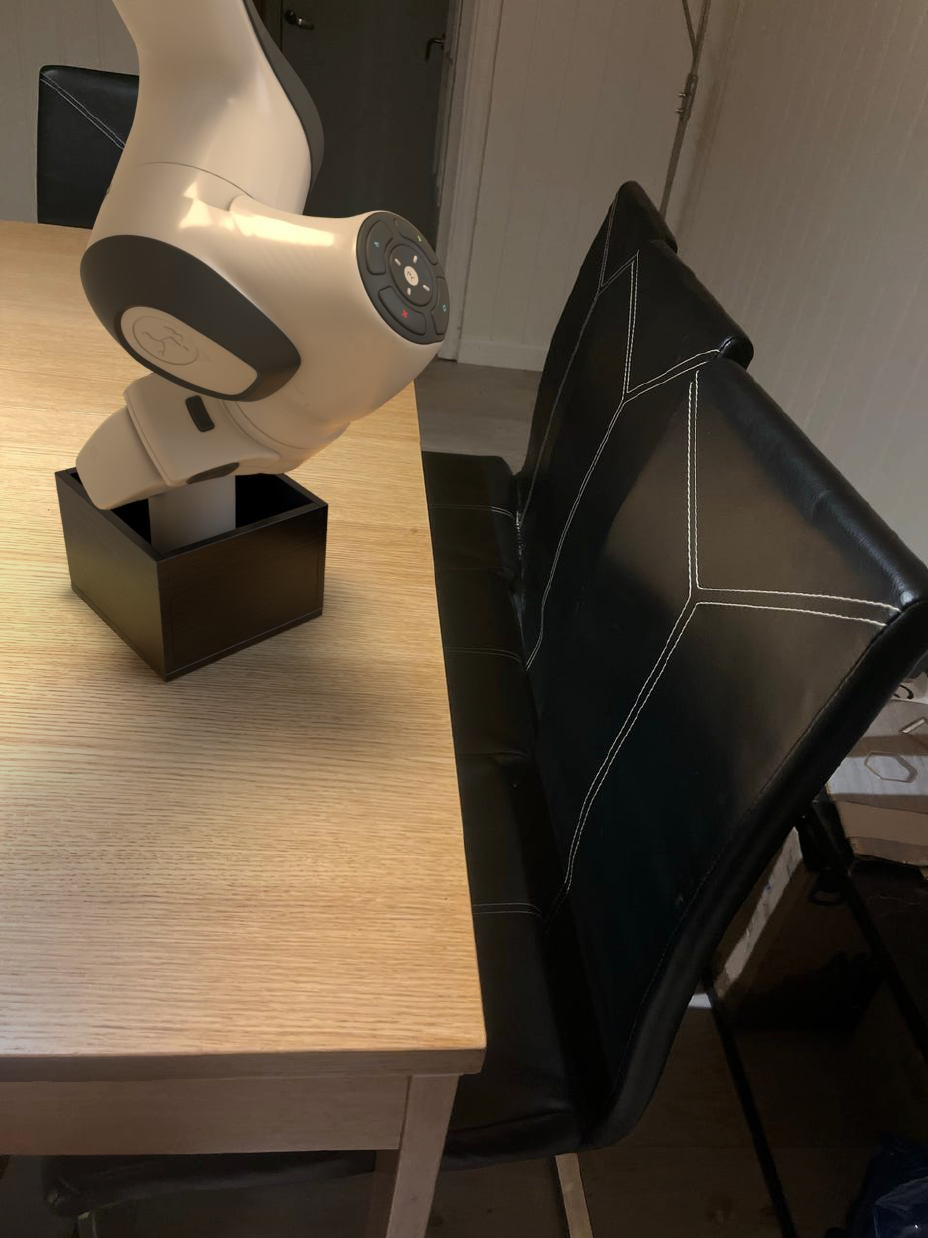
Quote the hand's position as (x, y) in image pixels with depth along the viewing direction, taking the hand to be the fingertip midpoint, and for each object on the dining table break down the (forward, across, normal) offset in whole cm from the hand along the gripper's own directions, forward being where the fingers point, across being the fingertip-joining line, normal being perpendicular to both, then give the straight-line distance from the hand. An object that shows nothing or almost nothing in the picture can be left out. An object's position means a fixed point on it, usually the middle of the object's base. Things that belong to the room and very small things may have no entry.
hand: (186, 474), depth 69 cm
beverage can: (+4, 0, +5) cm, 7 cm away
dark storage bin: (+8, 0, +9) cm, 12 cm away
